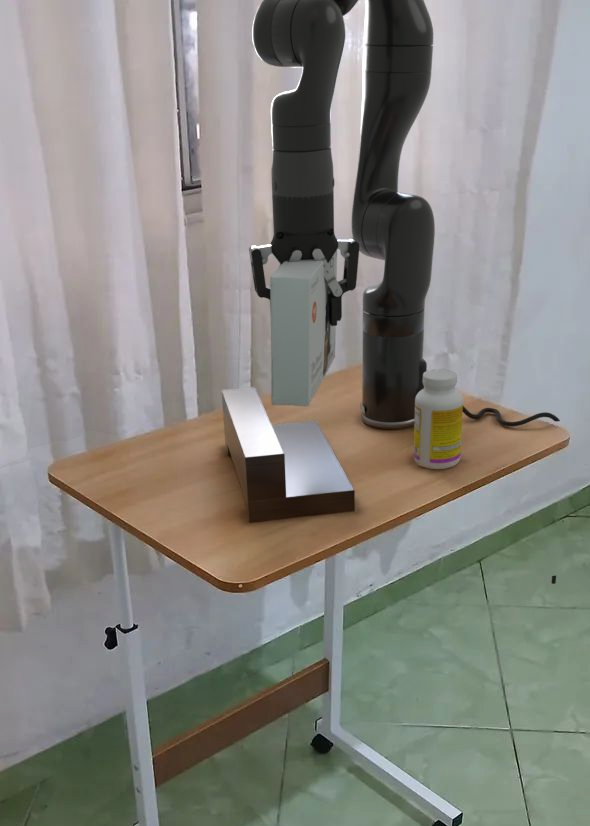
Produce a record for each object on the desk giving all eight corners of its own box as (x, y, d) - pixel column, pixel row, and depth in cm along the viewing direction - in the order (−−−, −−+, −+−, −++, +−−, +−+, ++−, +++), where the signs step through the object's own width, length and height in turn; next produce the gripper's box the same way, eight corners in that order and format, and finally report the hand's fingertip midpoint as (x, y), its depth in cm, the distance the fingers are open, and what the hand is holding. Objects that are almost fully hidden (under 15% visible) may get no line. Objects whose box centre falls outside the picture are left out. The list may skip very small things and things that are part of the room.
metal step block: (316, 438, 156) (315, 381, 151) (354, 511, 135) (354, 446, 130) (225, 447, 154) (221, 389, 149) (249, 522, 133) (245, 457, 128)
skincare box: (313, 408, 128) (309, 277, 120) (270, 407, 129) (264, 277, 121) (339, 356, 146) (338, 239, 137) (302, 355, 147) (298, 238, 138)
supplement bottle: (469, 460, 147) (474, 372, 140) (441, 475, 143) (445, 385, 136) (431, 449, 151) (435, 363, 144) (403, 463, 147) (406, 375, 140)
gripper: (353, 180, 129) (353, 314, 138) (240, 187, 127) (247, 323, 136) (367, 190, 123) (366, 330, 132) (248, 197, 121) (255, 339, 130)
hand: (306, 326), depth 134 cm, fingers closed on skincare box, 6 cm apart
